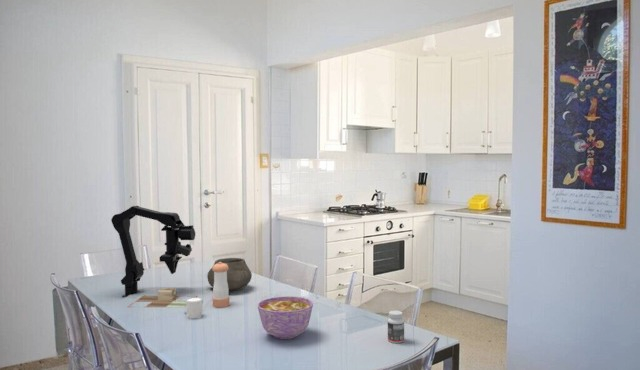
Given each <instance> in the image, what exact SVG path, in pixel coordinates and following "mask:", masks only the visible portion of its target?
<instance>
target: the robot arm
mask: <svg viewBox="0 0 640 370" xmlns="http://www.w3.org/2000/svg"><path fill="white" fill-rule="evenodd" d="M136 216H139V217H142V218H146V219H150V220H153V221H156V222H159V223H161V224H162V225H164V226H163V227H162V228H161V229H160V230H161V231H163V232H165V243H164V246H165V249H166V250H165V251H164V253H163V254H162V255H160V256H159V262H160V263H161V262H162V263H163V262H164V264H165V266H166V267H167V268H168V270H169V272H170V274H171V275H174V273H176V271H177V268H178V263H179V261H180V260H181V258H183V256H185V257H188V256H190V255H191V252H192V251H193V250H192V249H193V248H192V244H189V243H187V244H184V245H182V242H181V241H194V240H195V239H196V230H195V228H194V225H185V224H184V222H183V221H182V220H181V218H180V215H179V214H178V213H176V212H169V211H168V212H165V211H164V212H163V211H158V210H154V209H149V208H146V207H142V206H139V205H132V206H130V207H129V208H127V209H125V210H124V211H122V212H120V213H117V214H114V215H113V216H112V217H111V224H112V226H113V229H114V230H115V231H116V232H117V233H118V236H119V240H120V244H121V247H122V251H123V256H124V259H125V268H124V272H125V273H124V274H125V275H124V276H123V277H122V279H120V283H121V285H123V286H124V294H123V295H121V298H127V297H129V296H130V295H134V294H137V293H138V292H139V290H138V287H139V286H138V285H139V284H138V282H139V281H141V278H142V277H143V275H144V273H145V272H144V271H145V268H144V264H143V262H142V261H141V262H140V261H139V260H138V259H137V256H136V255H137V254H136V252H135V247H134V245H133V241H132V236H131V232H130V228H131V220H132V219H133V218H135V217H136ZM180 255H182V256H180Z"/></svg>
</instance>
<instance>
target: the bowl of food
mask: <svg viewBox="0 0 640 370" xmlns="http://www.w3.org/2000/svg"><path fill="white" fill-rule="evenodd" d="M313 307H314V302H313V301H312V300H311V299H309V298H306V297H301V296H291V295H290V296H275V297H269V298H265V299H264V300H261V301H259V302H258V303H257V309H258V313H259V319H260V321H261V325H262V328H263V329H264V330H265V332H266V333H267V334H268V335H271V336H272V337H275V338H276V339H279V340H290V339H294V338H296V337H297V336H300V335H301V334H303V333H304V332H305V331H306V329H307V328H308V326H309V323H310V319H311V316H312V311H313Z"/></svg>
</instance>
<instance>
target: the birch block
mask: <svg viewBox="0 0 640 370" xmlns="http://www.w3.org/2000/svg"><path fill="white" fill-rule="evenodd" d="M176 289H177V288H176V287H163V288H160V289H159V290H158V291H157V296H158V300H172V299H174V298H175V297H176V296H177V292H176V291H177V290H176Z"/></svg>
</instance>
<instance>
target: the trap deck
mask: <svg viewBox="0 0 640 370" xmlns="http://www.w3.org/2000/svg"><path fill="white" fill-rule="evenodd" d="M180 297H181V295H176V297H175V298H174V299H172V300H158V295H142V296H141V297H139V298H138V299H136V300H135V301H134V302H132V303H131V304H129V305H127V308H130V307H131V306H132V305H133V304H135V303H137V302H139V303H140V302H142V303H143V302H148V303H149V302H150V303H149V304H147V305H146V306H145V308H186V300H178V299H180ZM194 298H198V295H195V296H194Z"/></svg>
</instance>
